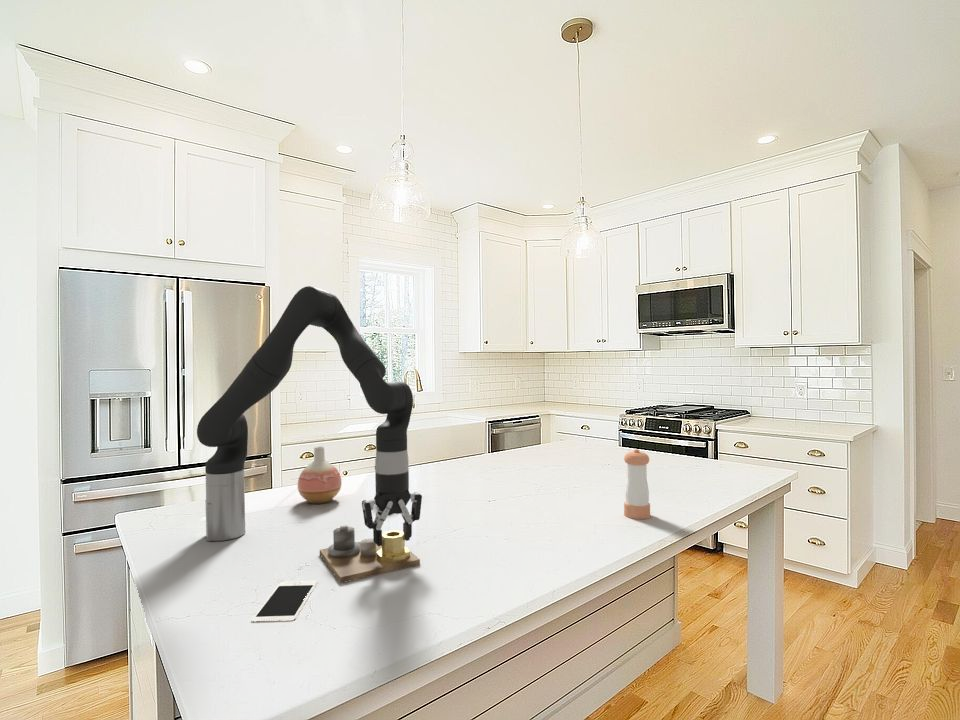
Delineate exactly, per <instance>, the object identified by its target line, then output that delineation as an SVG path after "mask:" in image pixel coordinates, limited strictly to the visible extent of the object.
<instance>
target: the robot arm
mask: <svg viewBox="0 0 960 720" xmlns="http://www.w3.org/2000/svg"><path fill="white" fill-rule="evenodd" d="M309 326H313V327H318V328H322V329H324V330H325V331H326V332H327V333H328V334H330V335H331V337H332V338H333V339H334V341H335V342H336V343H337V346H338V348H339V353H340V356H341V359H342V361H343V363H344V365H345V366H346V368H348V370H349V372H350V373H351V374H352V375H353V377H354V378H355V379H356V381H358V383H359V385H360V388H361V391H362V393H363V396H364V398H365V401H366V403H367V404H368V406H369V407H370V408H371V410H373V411H374V412H376V413H377V414H380V415H386V419H385V420H384V422H383V423H381V424H379V425H378V426H377V428H376V430H375V450H376V451H375V460H374V461H375V462H374V470H375V475H374V476H375V477H374V478H375V495H374V498H372V499H369V500H366V499H363V500H362V501H361V507H362V514H363V521H364V525H365V526H366V528H367V529H369V530H371V529H372V531H373V533H372V535H373V538H372V539H373V540H374V542H375V543H376V544H377V545H378V546H382V534H383V529H382V526H383V525H384V522H386V520H387V518H388V516H392V515H394V514H396V515H399V514H400V515H401V517H402V519H403V521H404V522H403V523H402V528H403V530H402V532H403V533H405V542H407V541H410V538H412V533H413V531H412V530H413V529H412V528H413V526H412V525H413V523H414V522H416V521H419V520H420V519H421V518H420V517H421V509H422V501H423V500H422V499H423V496H422V494H420V493H418V492H416V491H415V492H413V493H410V490H409V488H410V485H409V484H410V479H409V478H410V475H409V473H410V471H409V470H410V467H409V466H410V465H409V463H410V462H409V454H408V428H409V424H410V420H411V416H412V411H413V407H414V395H413V392H412V389H411V387H410V386H409V385H408V384H407V382H404V381H389V382H388V381H385V379H384V377H385V376H386V372H387V369H386V366H385V365H384V363H383V362H382V360H381V359H380V358H379V357H378V356H377V354H376V353H375V352H374V351H373V349H372V348H371V347H370V346H369V345H368V343H367V342H366V341H365V340H364V339H363V337H362V336H361V334H360V333H359V331H358V329H356V328H357V327H356V326H355V325H354V323H353V321H352V319H350V317H349V315H348V313H347V312H346V309H345V307H344V305H343V303H342V302H341V301H340V299H339V298H338V297H337V295H335V294H334V293H332V292H331V291H328V290H324V289H323V288H322V289H321V288H319V287H315V286H310V285H306V286H304V287H302V288H301V289H299V290H298V291H296V293H295V294H294V295H293V297H292V298H291V300H290V301H289V303H288V305H287V306H286V308H285V310H284V311H283V313H282V314H281V316H280V318H279V320H278V322H277V323H276V325H275V326H274V328H272V330H271V332H270V333H269V334H268V335H267V337H266V339H265V340H264V341H263V342H262V344H261V346H260V347H259V348H258V349H257V350H256V352H254V354H253V355H252V356H251V358H250V359H249V360H248V361H247V363H246V364H245V366H243V368H242V370H241V372H240V373H239V374H238V375H237V376H236V377H235V379H234V380H233V381H232V383H231V384H230V386H229V387H228V388H227V389H226V391H224V393H223V394H222V396H221V397H220V398H218V400H217V401H216V402H215V403H213V405H212V406H211V407H210V408H209V409H208V410H207V411H206V412H205V413H204V414H203V416H202V417H201V418H200V420H199V421H198V424H197V427H196V436H197V439H198V440H197V441H199V443H200V444H201V445H203V446H205V447H207V448H216V451H215V453H214V454H213V455H212V456H211V457H210V458H209V459H207V460H206V462H205V467H204V469H205V536H206V541H207V542H212V541H214V542H218V541H219V542H221V541H228V540H234V539H236V538H239V537H242V536H243V535H244V534H245V533H246V505H245V504H246V502H245V501H246V499H245V498H246V496H245V462H246V459H247V457H248V441H249V439H248V438H249V428H248V426H249V425H248V421H247V418H246V416H245V413H246V411H248V410H249V409H250V408H251V407H253V406H254V405H255V404H258V402H260V401H261V400H263V399H264V398H265V397H267V396H269V394H270V393H272V392H273V391H274V390H275V389H276V388H277V387H278V386H279V385H280V384H281V382H282V381H283V379H284V378H285V377H286V376H287V374H288V373H289V371H290V369H291V366H292V364H293V356H294V347H295V344H296V342H297V340H298V338H299V337H300V336H301V335H302V333H303V332H304V331H305V330H306V329H307V328H308V327H309ZM409 501H410V502H411V510H410V512H409V510H408V508H407V505H408V503H409ZM374 506H376V507H377V508H378V509H377V511H376V514H375V518H374V520H373V514H372V511H373V509H374Z"/></svg>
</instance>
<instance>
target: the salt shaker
mask: <svg viewBox="0 0 960 720" xmlns="http://www.w3.org/2000/svg"><path fill="white" fill-rule="evenodd" d="M623 460H624V462H625V463H626V483H625V488H624V497H625V498H624V499H625V500H624V503H623V515H624V516H625V517H626V518H630V519H635V520H645V519H646V520H647V519H649V518H650V517H651V504H650V502H649V501H650V498H649V497H650V491H649V490H650V489H649V484H648V477H647V476H648V475H647V474H648V473H647V472H648V471H647V470H648V469H647V467H648V466H647V465H648V464H649V462H650V457H649V455H648V454H647V453H645V452H643V451H640V450H639V449H638V448H635V449H634V450H633V451H629V452H626V454H625V455H624V458H623Z"/></svg>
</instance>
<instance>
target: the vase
mask: <svg viewBox="0 0 960 720" xmlns="http://www.w3.org/2000/svg"><path fill="white" fill-rule="evenodd" d="M313 450H314V451H313V461H312V462H311V463H309V464H308V465H306V467H305V468H304V469H303V470H302V471H301V472H300V474H299V476H298V480H297V491H298V493H299V495H300V496H301V497H302V499H304V500H306V501H307V502H308V503H309V504H313V505H318V504H319V505H321V504H326V503H329V502H331V501H332V500H333V499H334V498H335V497H336V496H337V495H338V494H339V493H340V491H341V488H342V485H343V484H342V476H341V473H340V472H339V470H338V469H337V468H336V466H334V465H333V464H332V463H330V462H329V461H327V460H326V458H325V447H324V446H315V447H314V448H313Z"/></svg>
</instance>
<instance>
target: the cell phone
mask: <svg viewBox="0 0 960 720" xmlns="http://www.w3.org/2000/svg"><path fill="white" fill-rule="evenodd" d="M317 582H318V580H306V581H305V580H304V581H301V580H300V581H281V582H279V583H278V584H277V586H276V587H274V590H273V591H272V593H270V595H269V596H268V597H267V599H266V600H265V601H264V603H263V604H262V605H261V607H260V608H259V609H258V611H257V612H256V613H255V614H257V615H256V616H255V615H254V616H255V618H256V617H258V618H259V619H260V620H261V621H262V620H263V621H265V620H266V621H267V620H268V621H270V620H271V621H272V620H273V621H274V620H284V619H285V620H286V618H287V620H289V619H293V618H294V617H295V618H296V616H297V614H298V613H299V611H300V609H301V608H302V607H303V608H304V606H303V604H304V602H307V601H308V599H306V600H307V601H305V599H304V598H306V597H307V595H309V593H311V592H310V591H312V590H313V588H314V587H315V588H316V586H317V585H316V584H318V583H319V582H318V583H317ZM315 585H316V586H315ZM315 588H314V589H315ZM313 591H314V590H313ZM313 591H312V592H313ZM307 593H308V594H307ZM311 594H312V593H311ZM305 596H306V597H305ZM303 599H304V600H303ZM304 605H305V604H304ZM303 608H302V609H303ZM302 609H301V610H302ZM300 612H301V611H300ZM299 614H300V613H299ZM299 614H298V615H299ZM286 616H287V617H286ZM290 617H291V618H290ZM292 617H293V618H292ZM297 617H298V616H297ZM258 618H256V619H257V620H259V619H258ZM288 618H289V619H288ZM295 618H294V619H295ZM296 619H297V618H296ZM296 619H295V620H296ZM260 620H259V621H260Z"/></svg>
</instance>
